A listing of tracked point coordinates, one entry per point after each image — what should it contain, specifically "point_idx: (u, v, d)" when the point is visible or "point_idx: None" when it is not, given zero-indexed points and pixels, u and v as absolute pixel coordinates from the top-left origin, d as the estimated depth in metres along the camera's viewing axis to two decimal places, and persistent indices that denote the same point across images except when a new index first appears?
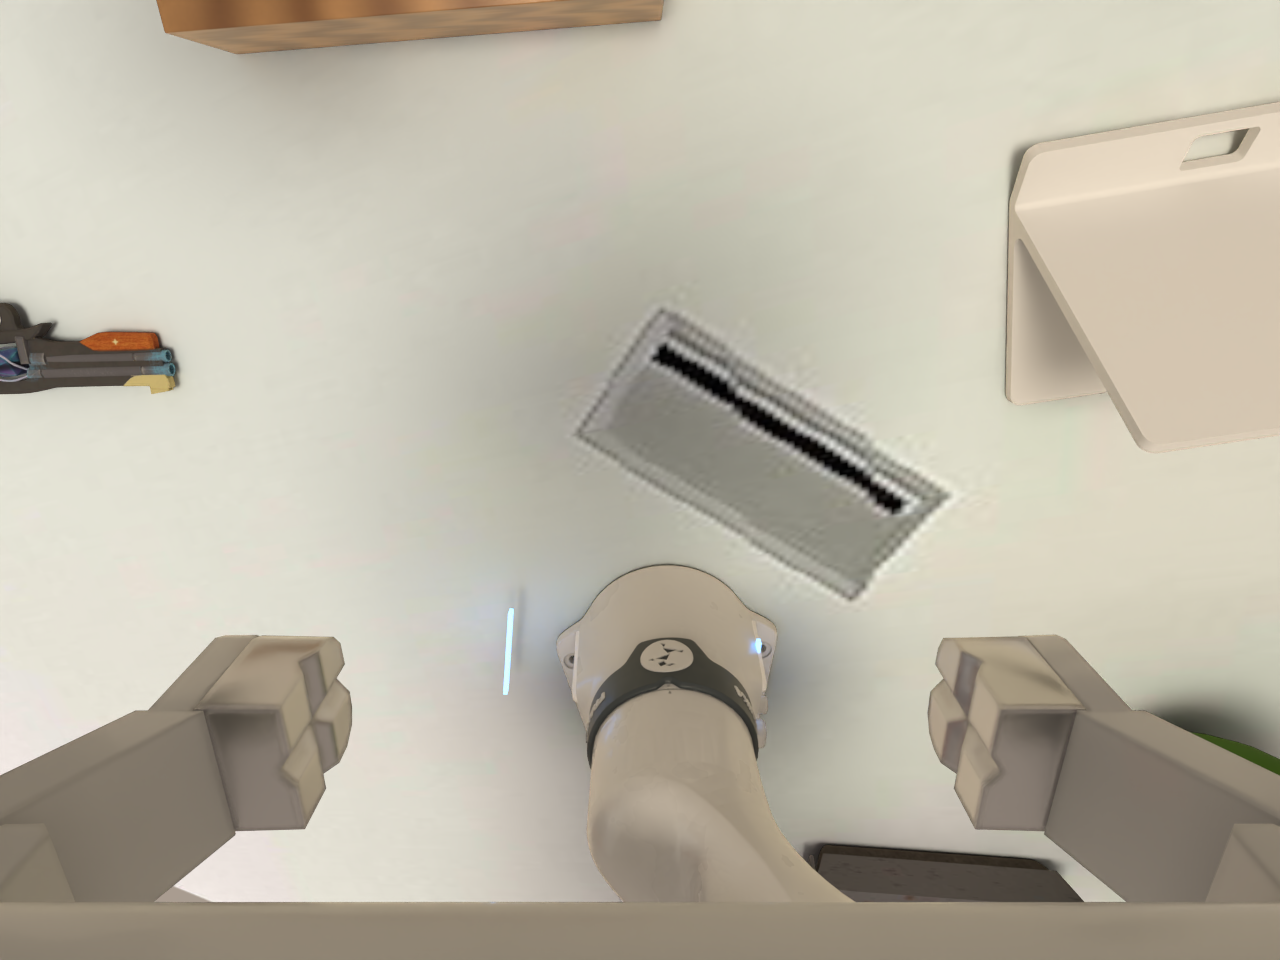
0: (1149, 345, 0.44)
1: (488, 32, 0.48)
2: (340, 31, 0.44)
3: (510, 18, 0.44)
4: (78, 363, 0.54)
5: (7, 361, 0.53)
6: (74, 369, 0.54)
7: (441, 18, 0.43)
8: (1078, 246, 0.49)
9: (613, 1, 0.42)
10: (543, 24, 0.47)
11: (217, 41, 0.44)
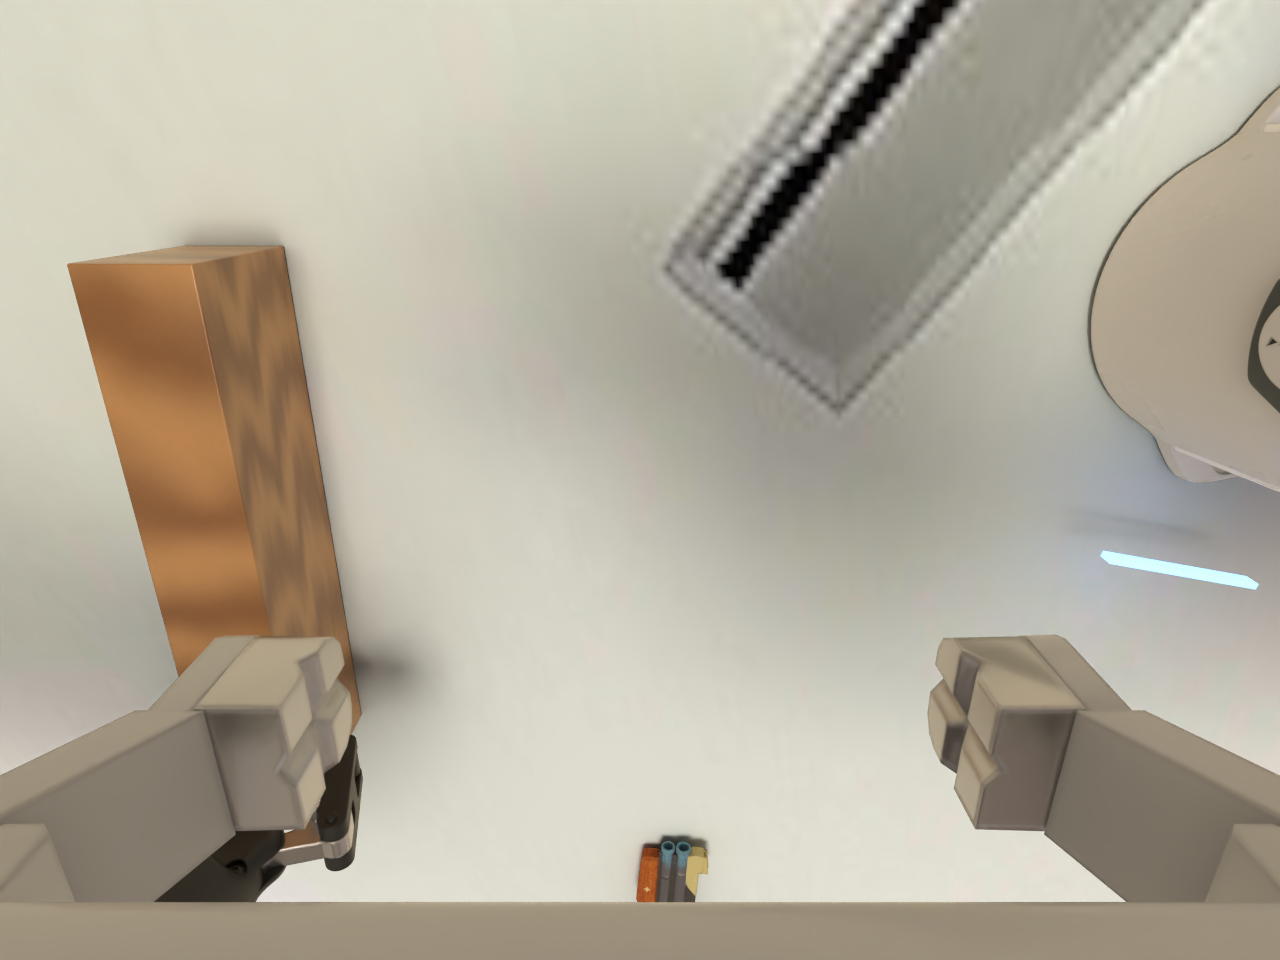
0: None
1: (315, 465, 0.39)
2: None
3: (276, 454, 0.35)
4: None
5: None
6: None
7: (275, 540, 0.35)
8: None
9: (224, 332, 0.31)
10: (294, 404, 0.37)
11: None
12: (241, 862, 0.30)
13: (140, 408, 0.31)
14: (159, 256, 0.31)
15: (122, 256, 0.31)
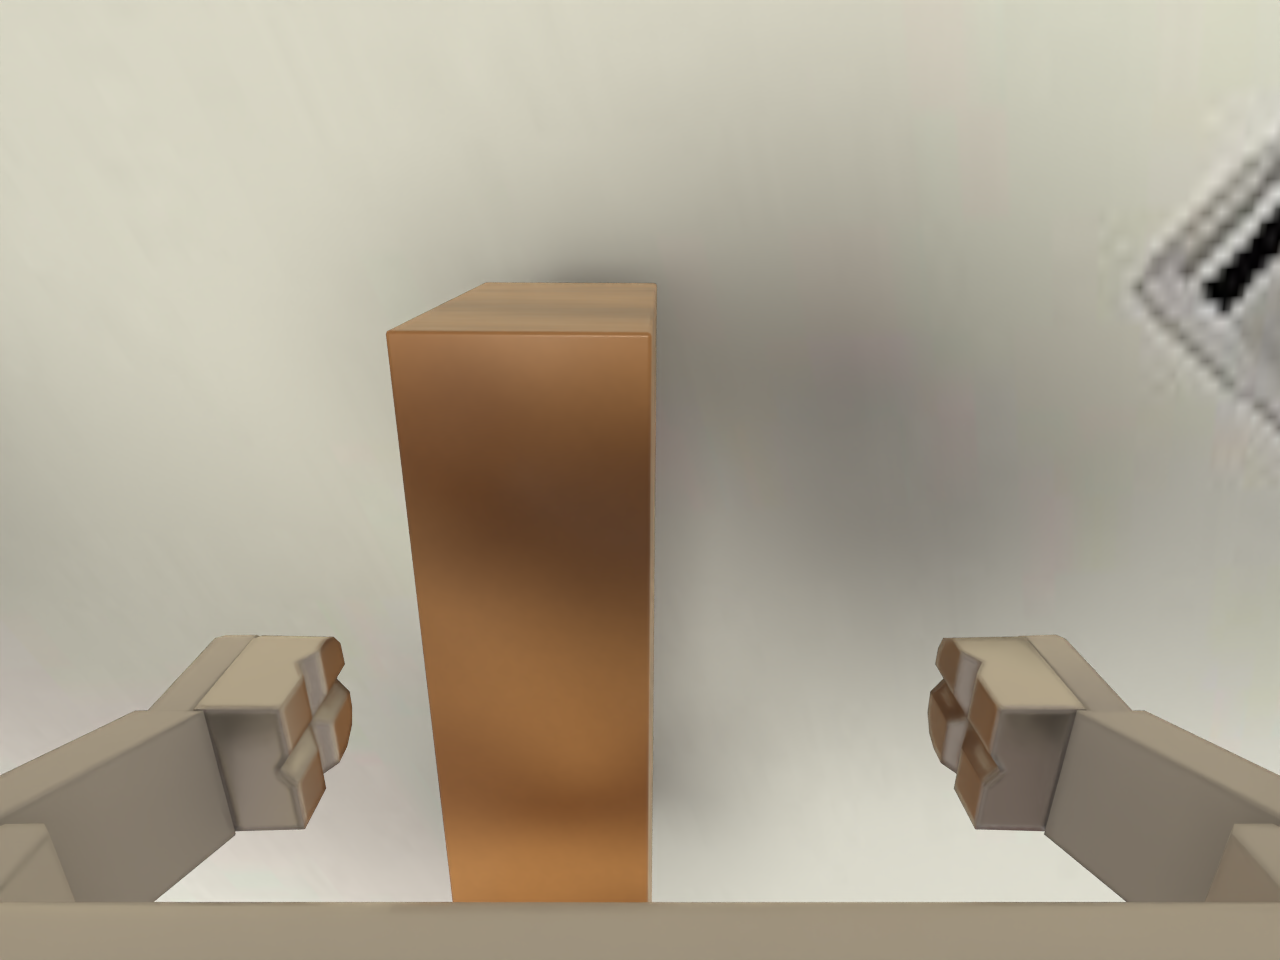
0: None
1: None
2: None
3: None
4: None
5: None
6: None
7: None
8: None
9: None
10: None
11: None
12: None
13: (485, 611, 0.15)
14: (517, 309, 0.16)
15: (448, 309, 0.16)
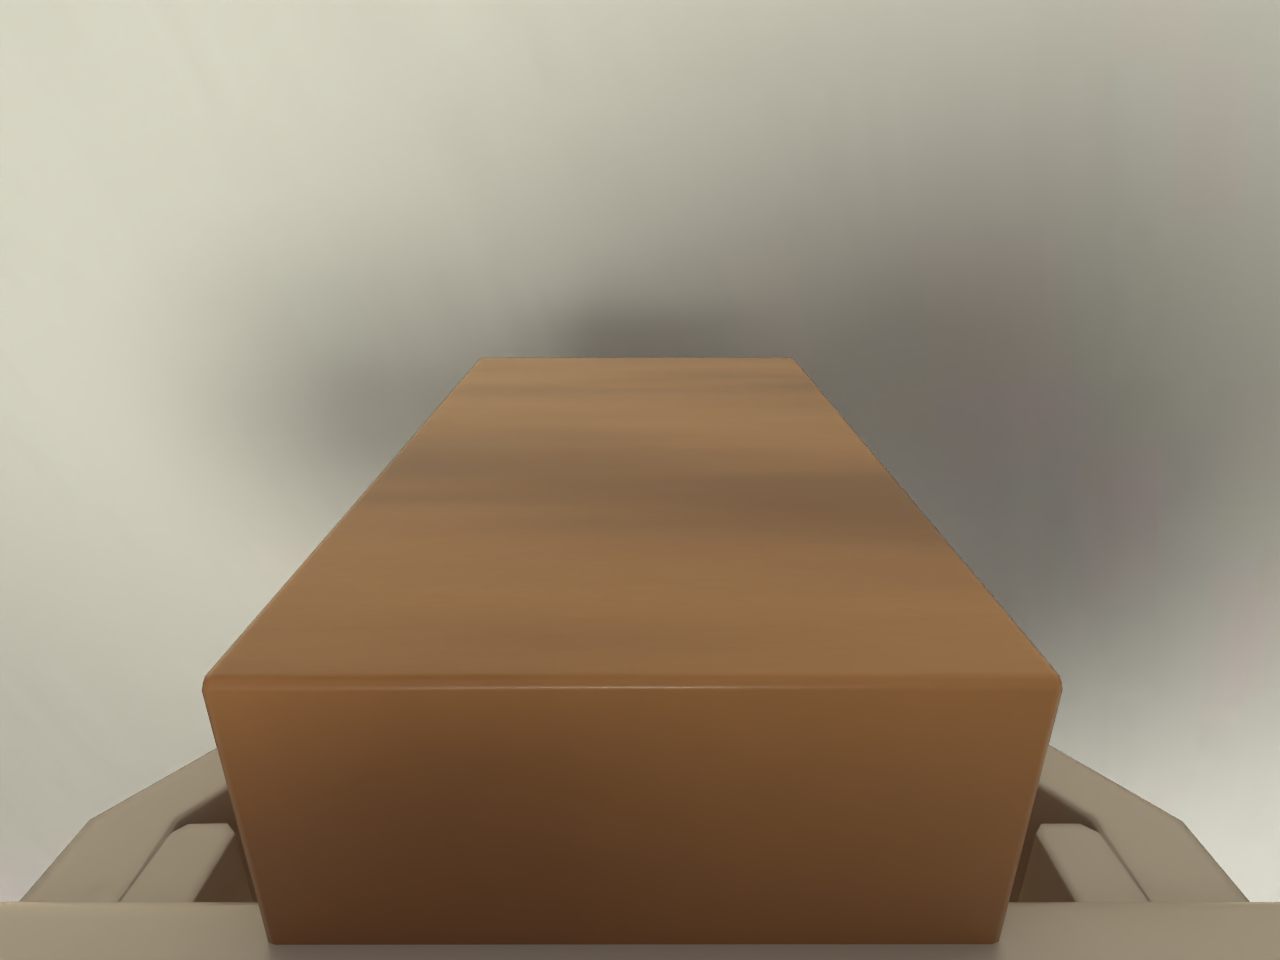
0: None
1: None
2: None
3: None
4: None
5: None
6: None
7: None
8: None
9: None
10: None
11: None
12: None
13: None
14: (577, 485, 0.07)
15: (409, 489, 0.07)
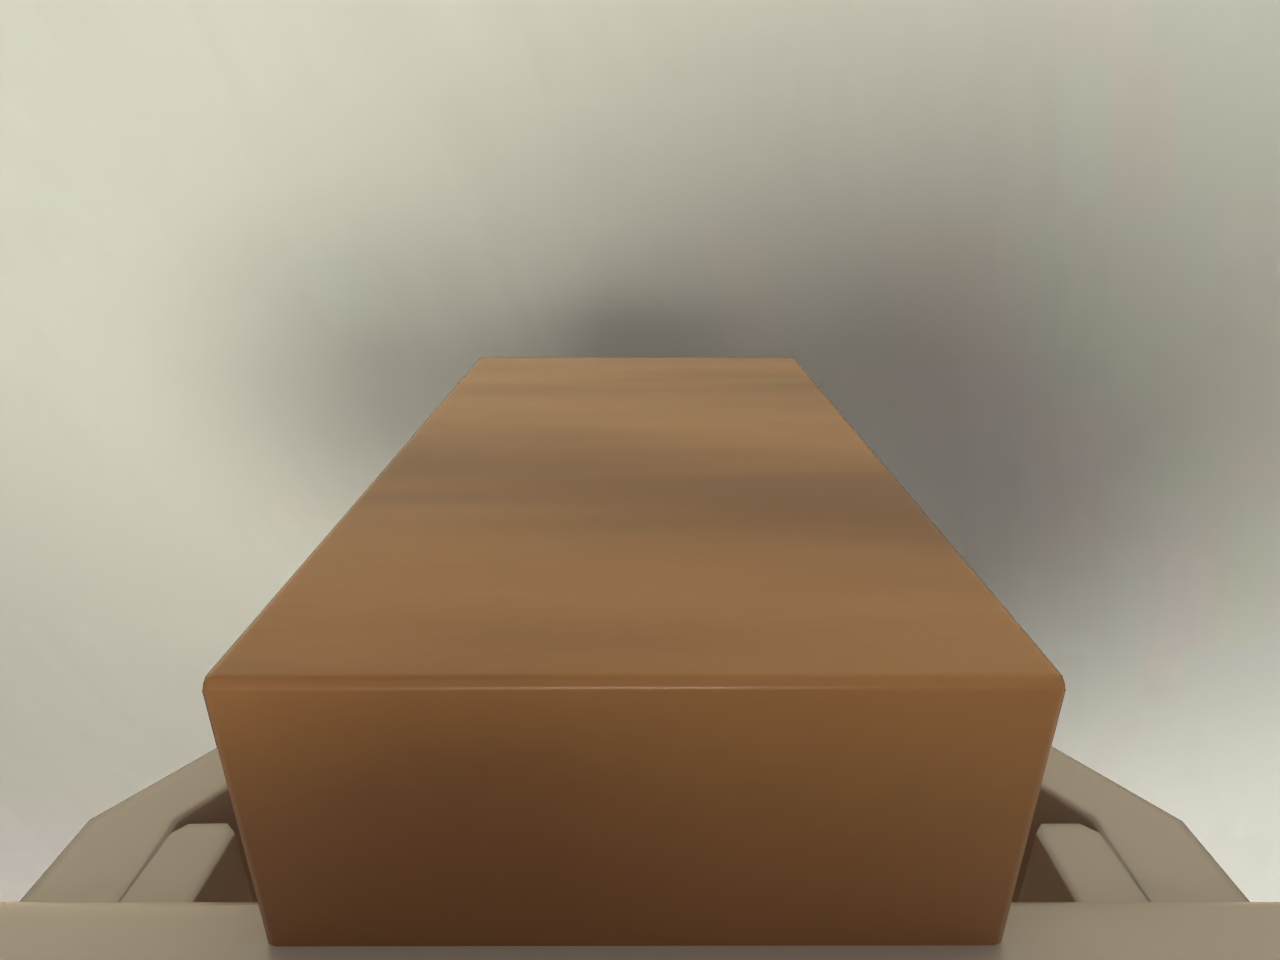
0: None
1: None
2: None
3: None
4: None
5: None
6: None
7: None
8: None
9: None
10: None
11: None
12: None
13: None
14: (578, 484, 0.07)
15: (410, 488, 0.07)
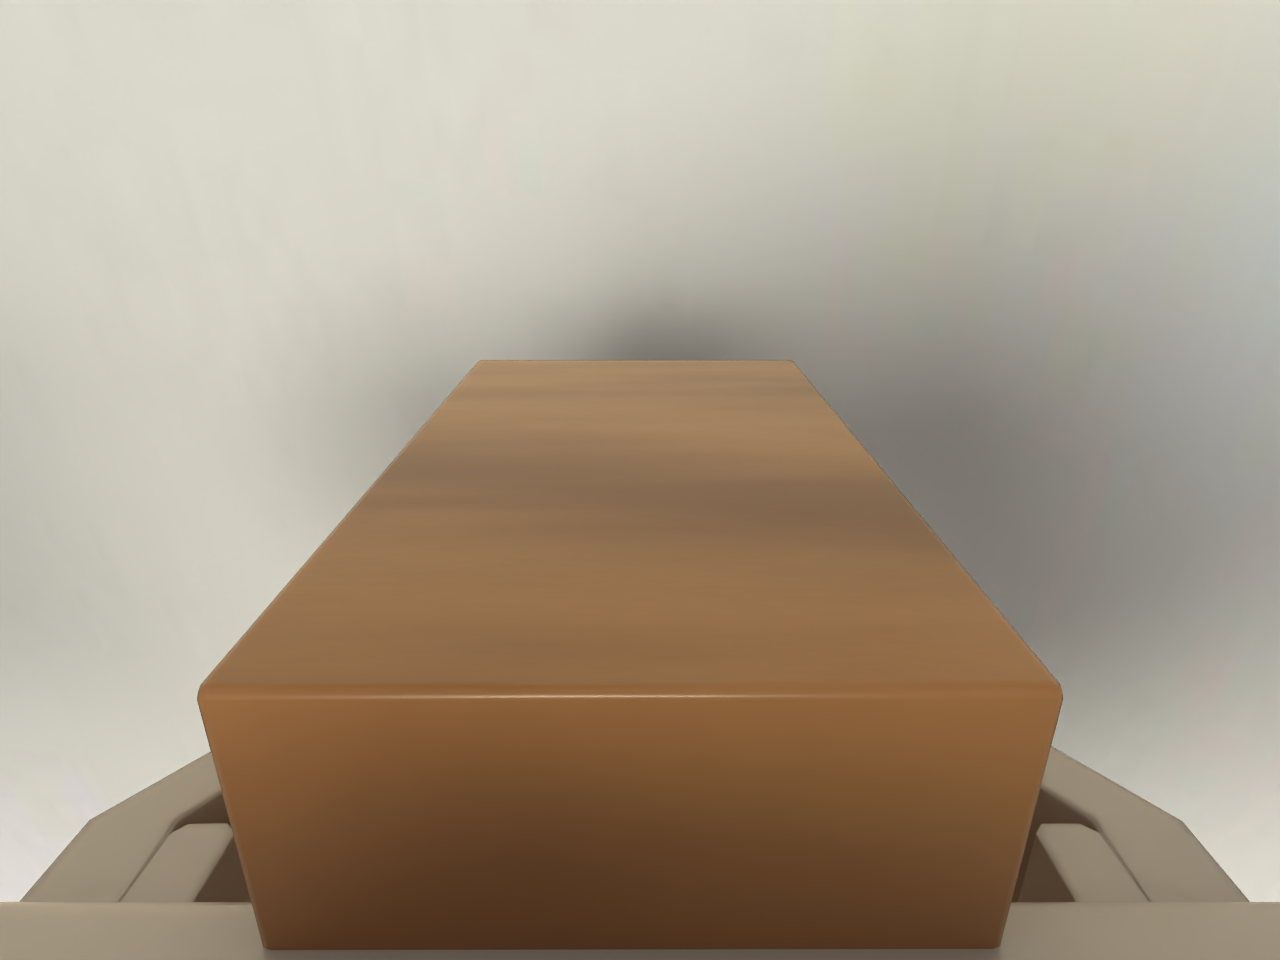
0: None
1: None
2: None
3: None
4: None
5: None
6: None
7: None
8: None
9: None
10: None
11: None
12: None
13: None
14: (576, 489, 0.07)
15: (407, 493, 0.07)
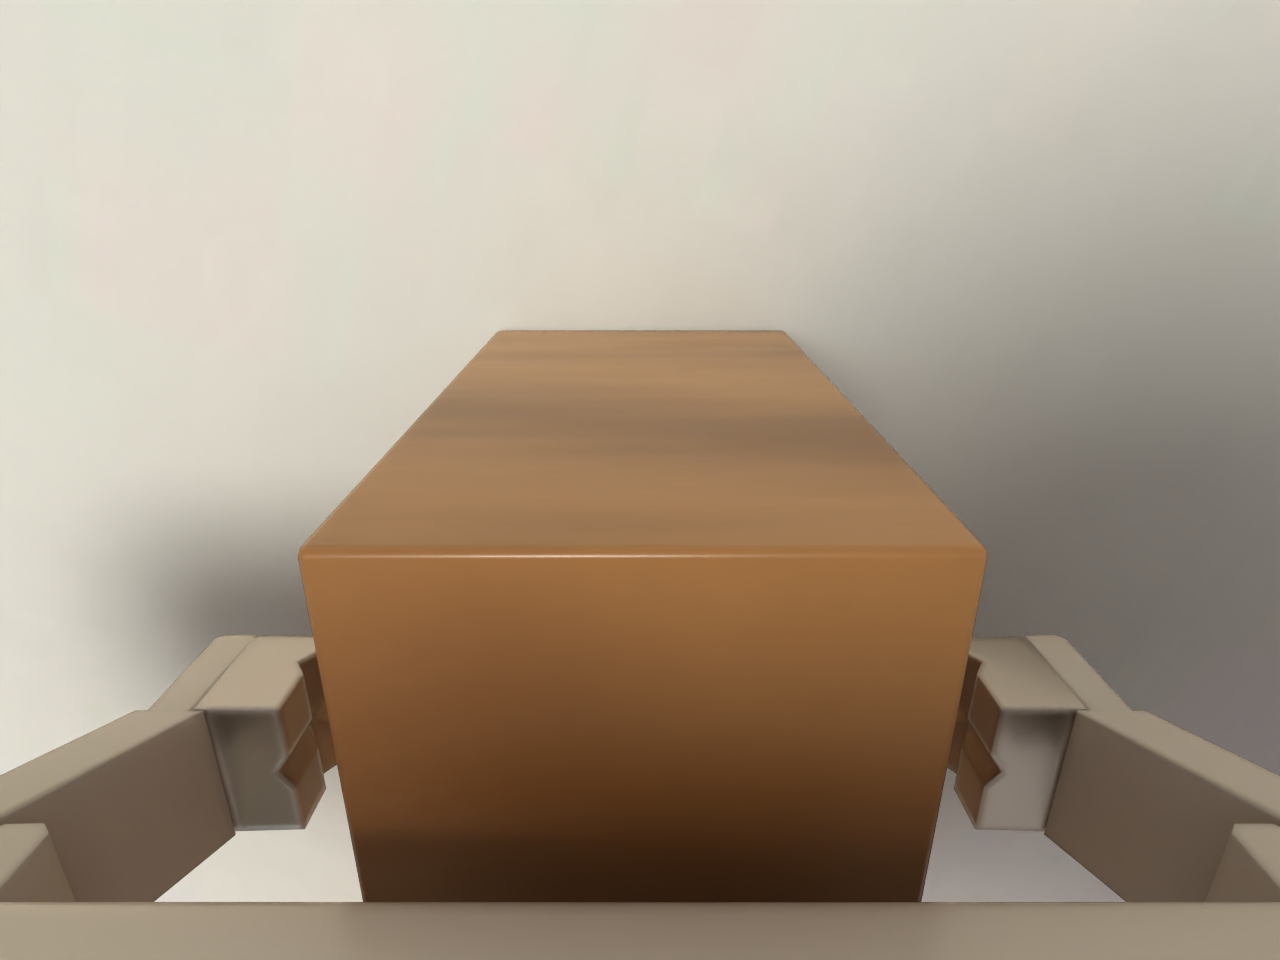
0: None
1: None
2: None
3: None
4: None
5: None
6: None
7: None
8: None
9: None
10: None
11: None
12: None
13: None
14: (592, 424, 0.08)
15: (447, 427, 0.08)
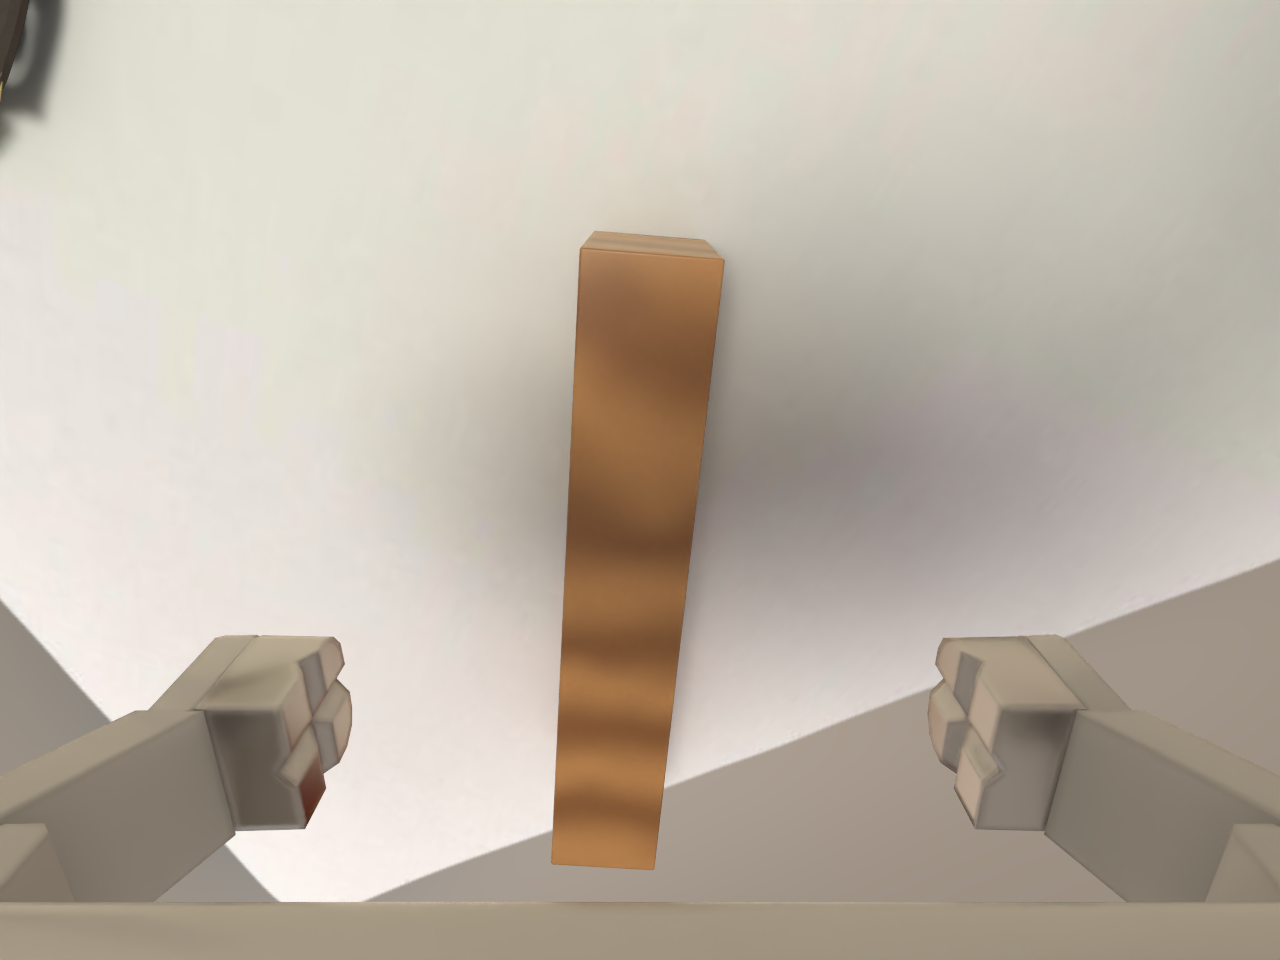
0: None
1: None
2: None
3: None
4: None
5: None
6: None
7: None
8: None
9: None
10: None
11: None
12: None
13: (612, 417, 0.27)
14: (637, 244, 0.27)
15: (597, 241, 0.27)
